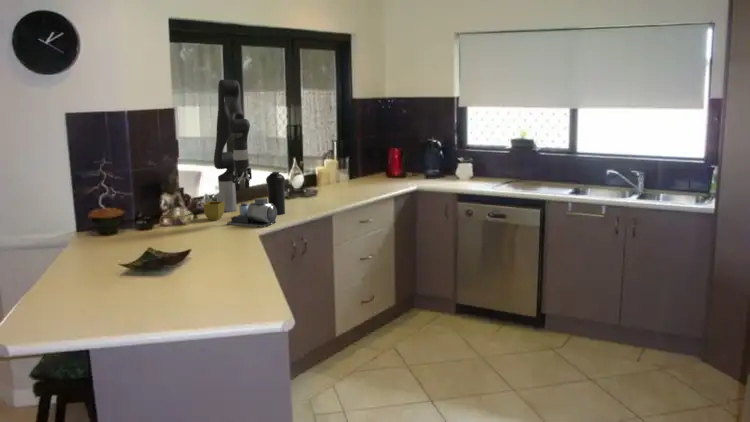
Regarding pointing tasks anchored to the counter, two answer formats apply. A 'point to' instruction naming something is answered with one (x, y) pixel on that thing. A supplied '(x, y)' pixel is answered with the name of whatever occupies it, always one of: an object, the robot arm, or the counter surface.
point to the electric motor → (257, 214)
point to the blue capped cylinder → (243, 209)
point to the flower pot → (213, 210)
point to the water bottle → (276, 191)
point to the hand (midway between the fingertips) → (242, 189)
